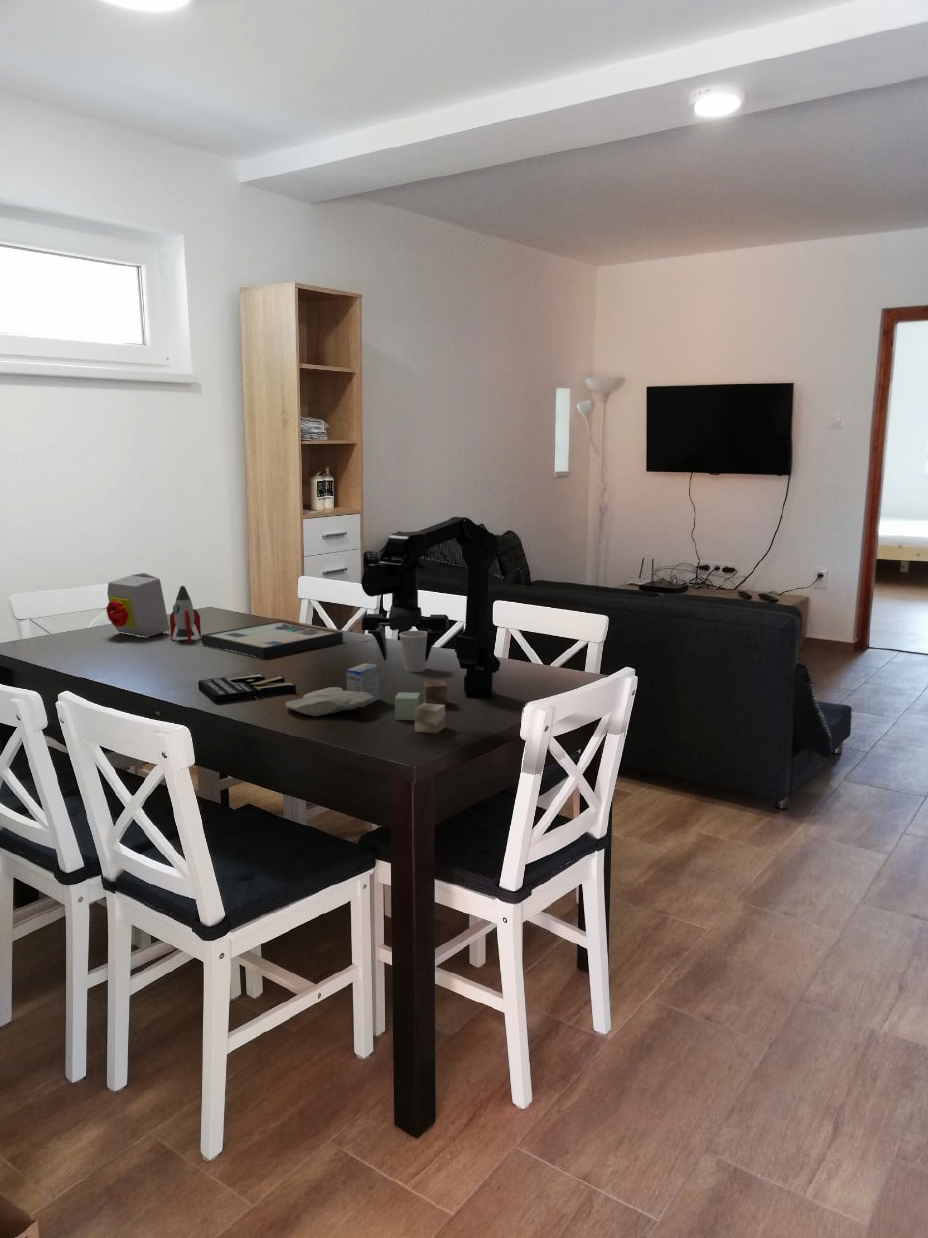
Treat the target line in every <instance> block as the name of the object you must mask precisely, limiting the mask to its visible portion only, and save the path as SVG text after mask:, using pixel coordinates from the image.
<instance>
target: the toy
mask: <svg viewBox="0 0 928 1238" xmlns="http://www.w3.org/2000/svg"><path fill="white" fill-rule="evenodd" d="M174 603H175V604H173V606H172V612H171V614H170V616H169V630H170V639H171V638H172V639H173V637H174V632H175V630H176V629H177V631H176V634H175V637H176V638H187V640H188V641H187V642H188V644H189V643H190V642H191V643H192V637H194V636H195V635H196V634H195V633H194V631H193V627H194V626H195V628H196V631H197V633H198V635H199V638H200V637H201V638H202V636H201V635H202V628H201V616H200V613H199V611H197V610H196V609H194V605H193V601H192V599H191V597H190V595H189V592H188V591H187V589H186V587H185V585H181V586H180V587H179V590H178V593H177V596H176V598H175V602H174Z"/></svg>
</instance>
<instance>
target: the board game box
mask: <svg viewBox="0 0 928 1238" xmlns="http://www.w3.org/2000/svg"><path fill="white" fill-rule="evenodd" d="M343 633H344V632H341V631H338V630H336V631H335V630H330V629H325V628H321V627H314V626H310V625H304V624H299V623H293V622H288V621H282V620H279V621H278V620H277V621H274V622H266V623H261V624H255V625H251V626H244V627H238V628H233V629H229V630H222V631H217V632H211V633H206V634H205V633H204V634H201V645H202V644H204V645H208V646H213V647H217V648H221V649H228V650H233V651H237V652H241V653H245V654H248V655H253V656H256V657H260V658H268V659H270V658H269V657H273V656H277V657H279V656H278V655H282V656H284V655H283V654H287V655H289V654H288V653H292V654H294V653H293V652H296V653H300V651H301V652H305V650H306V651H309V649H310V650H313V649H319V648H320V649H321V648H323V647H329V646H334V645H338V643H339V644H342V643H344V634H343ZM221 649H220V650H221ZM260 658H259V659H260ZM273 658H274V657H273Z"/></svg>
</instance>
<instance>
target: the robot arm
mask: <svg viewBox="0 0 928 1238" xmlns="http://www.w3.org/2000/svg"><path fill="white" fill-rule="evenodd" d="M453 539H454V541H455V543H457V544H458V545H459V546H460V547H461V555H462V559H463V562H464V563H465V565H466V568H467V584H466V585H467V586H466V605H465V623H464V624H465V625H464V626H465V627H464V629H463V631H462V633H461V634H460V635H459V634H458V635H456V636H455V648H454V653H456V658H457V660H458V663H459V667H460V669H461V670H462V669H463V670H466V672H465V674H464V676H463V693H464V694H465V697H466V698H493V696H494V688H493V687H494V686H493V685H494V684H493V683H494V678H493V677H494V674H495V673H496V672H498V671H500V667H501V661H500V660H499V658H498V657H497V656H496V655H495V653H494V652H493V646H492V639H491V637H490V635H489V633H488V631H487V613H488V611H487V610H488V594H489V593H488V592H489V577H490V575H489V573H490V569H491V567H492V566H493V564H494V562H495V561H496V559H497V554H498V547H499V540H498V538H497V537H496V536H495V534H494V533H493V532H490V531H489V530H487V529H485V528H484V527H482V526H480V525H478V523H477V524H476V523H475V522H474V521H473V520H472V519H470V518H468V517H465V516H452V517H450V518H449V519H447V520H444V521H441V522H438V523H436V524H434V525H431V526H428V527H426V528H423V529H420V530H418V531H404V532H396V533H392V534H390V535H389V536H388V538H387V541H386V543H385V546H384V548H383V549H382V551H381V554H380V556H379V558H378V559H377V562H376V563H370V564H368V565H367V569H366V570H365V572H364V573H363V575H362V578H361V582H360V583H361V588H362V590H363V592H364V593H365V595H367V596H368V597H378V596H384V595H389V594H390V595H391V606H390V608H389V614H388V617H384V615H383V613H367V614H366V615H365V616H363V618H362V619H361V630H362V631H367V634H368V635H372V636H373V638H375V640H376V643H377V646H378V648H379V650H380V652H381V656H382V658H383V661H387V659H388V648H387V637H386V636H387V635H386V627H389V630H391V631H397V630H399V631H402V630H403V631H404V632H405V631H412V629H413V627H414V628H415V627H416V628H417V627H418V628H419V627H421V628H425V627H426V628H428V630H427V631H426V632H427V643H426V652H425V661H426V662H428V660H429V658H430V655H431V651H432V647H433V645H434V642H435V640H436V637H437V636H440V635H442V632H446V631H447V630H448V629H449V625H450V624H449V621H450V618H449V616H448V615H447V614H430V615H429V617H428V618H423V616H422V615H423V614H422V607H420V606H419V584H418V583H419V581H418V580H419V577H418V575H419V572H418V570H424V569H425V568H426V567H425V565H424V563H422V562H420V560H419V559H421V558H422V557H423V556H425V555H426V554H427V552H428V550H430V549H431V548H434V547H436V546H438V545H441V544H444V543H446V542H448V541H451V540H453Z"/></svg>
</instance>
